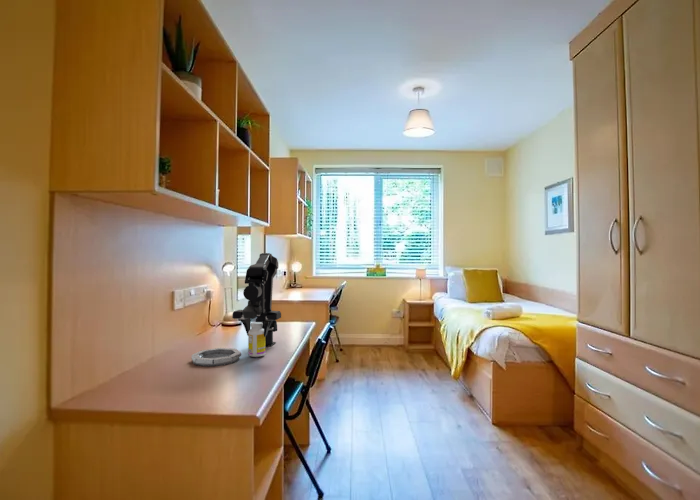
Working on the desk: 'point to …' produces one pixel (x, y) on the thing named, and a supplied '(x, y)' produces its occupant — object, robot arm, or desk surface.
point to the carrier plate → (216, 357)
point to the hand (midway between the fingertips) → (256, 336)
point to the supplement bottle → (256, 340)
